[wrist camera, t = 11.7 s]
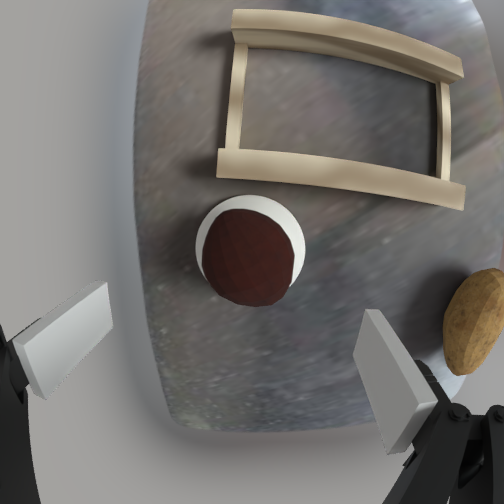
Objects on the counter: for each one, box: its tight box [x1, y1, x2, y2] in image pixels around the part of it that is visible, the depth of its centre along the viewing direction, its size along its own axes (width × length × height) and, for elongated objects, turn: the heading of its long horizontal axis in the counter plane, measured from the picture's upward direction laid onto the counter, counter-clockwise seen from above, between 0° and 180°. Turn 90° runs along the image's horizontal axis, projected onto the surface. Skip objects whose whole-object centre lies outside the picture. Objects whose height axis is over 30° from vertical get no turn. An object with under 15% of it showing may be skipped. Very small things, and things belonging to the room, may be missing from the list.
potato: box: [443, 268, 504, 376], centre depth 25 cm, size 10×14×8 cm
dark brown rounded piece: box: [201, 209, 295, 307], centre depth 24 cm, size 8×9×8 cm
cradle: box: [216, 9, 466, 210], centre depth 23 cm, size 17×24×4 cm
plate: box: [196, 195, 305, 287], centre depth 29 cm, size 11×11×1 cm
